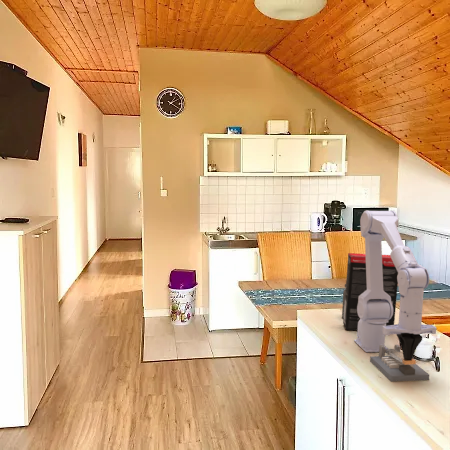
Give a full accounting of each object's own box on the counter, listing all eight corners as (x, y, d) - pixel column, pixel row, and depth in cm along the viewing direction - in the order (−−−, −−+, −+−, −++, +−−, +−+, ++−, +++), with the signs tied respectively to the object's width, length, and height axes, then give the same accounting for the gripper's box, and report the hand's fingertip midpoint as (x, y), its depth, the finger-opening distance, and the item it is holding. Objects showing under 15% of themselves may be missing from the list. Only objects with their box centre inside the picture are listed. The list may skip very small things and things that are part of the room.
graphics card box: (390, 327, 167) (395, 253, 163) (395, 334, 160) (401, 257, 156) (342, 324, 168) (346, 251, 165) (345, 331, 162) (349, 255, 158)
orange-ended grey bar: (384, 352, 137) (384, 348, 137) (393, 351, 137) (393, 348, 137) (405, 364, 125) (405, 360, 125) (415, 364, 125) (415, 360, 125)
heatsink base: (369, 361, 137) (371, 345, 136) (404, 359, 139) (405, 344, 138) (391, 381, 124) (392, 363, 124) (429, 379, 126) (430, 362, 125)
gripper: (392, 316, 120) (389, 366, 122) (444, 315, 122) (440, 364, 123) (380, 308, 127) (377, 355, 128) (429, 307, 129) (425, 353, 130)
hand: (407, 359), depth 126 cm, fingers closed, pressing on orange-ended grey bar
